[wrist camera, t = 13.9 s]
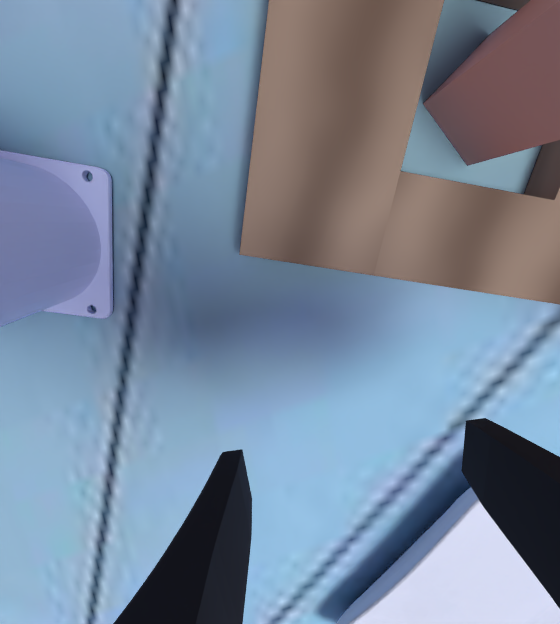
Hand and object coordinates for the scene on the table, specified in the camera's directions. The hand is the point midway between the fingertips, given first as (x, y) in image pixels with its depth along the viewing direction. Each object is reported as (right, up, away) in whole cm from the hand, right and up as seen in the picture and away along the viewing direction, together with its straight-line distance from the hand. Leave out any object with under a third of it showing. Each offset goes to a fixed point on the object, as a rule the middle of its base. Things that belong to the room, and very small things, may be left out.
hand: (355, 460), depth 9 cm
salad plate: (+15, -18, +17) cm, 29 cm away
